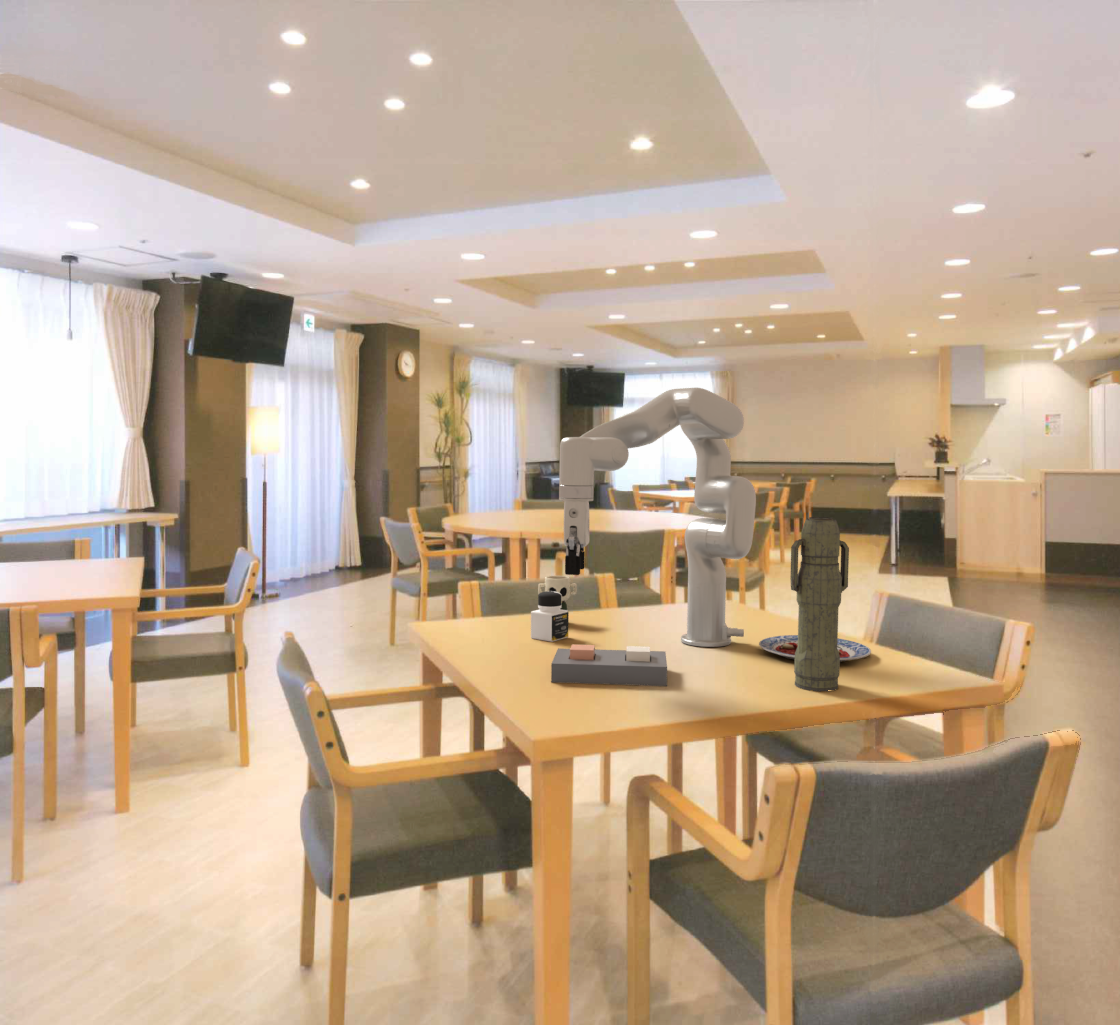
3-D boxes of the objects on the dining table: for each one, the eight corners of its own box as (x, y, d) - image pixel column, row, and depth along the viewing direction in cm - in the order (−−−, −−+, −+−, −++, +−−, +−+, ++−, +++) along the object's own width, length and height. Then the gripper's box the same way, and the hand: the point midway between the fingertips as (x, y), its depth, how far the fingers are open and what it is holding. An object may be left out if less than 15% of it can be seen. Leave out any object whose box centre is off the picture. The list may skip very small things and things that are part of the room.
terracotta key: (594, 658, 189) (594, 645, 189) (593, 664, 184) (593, 650, 184) (571, 657, 189) (571, 644, 189) (569, 663, 184) (570, 649, 184)
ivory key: (649, 660, 188) (649, 646, 188) (649, 665, 183) (650, 651, 183) (626, 659, 188) (626, 645, 188) (626, 665, 183) (626, 651, 183)
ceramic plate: (806, 672, 191) (806, 659, 190) (737, 648, 214) (737, 636, 214) (895, 662, 201) (895, 650, 201) (820, 640, 224) (820, 628, 224)
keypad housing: (665, 669, 192) (665, 651, 192) (666, 685, 178) (667, 666, 178) (557, 665, 194) (557, 648, 194) (551, 682, 180) (551, 663, 180)
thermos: (854, 689, 176) (859, 519, 174) (802, 693, 173) (806, 519, 171) (830, 678, 185) (835, 515, 183) (780, 681, 182) (784, 516, 180)
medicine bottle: (552, 642, 219) (552, 595, 218) (530, 638, 223) (530, 592, 222) (568, 637, 224) (569, 591, 224) (547, 633, 229) (547, 589, 228)
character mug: (538, 625, 240) (538, 579, 239) (537, 620, 247) (537, 575, 246) (577, 625, 240) (577, 579, 239) (575, 620, 247) (575, 575, 246)
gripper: (590, 495, 179) (588, 577, 180) (596, 492, 197) (595, 567, 198) (554, 495, 180) (552, 576, 181) (563, 492, 197) (562, 566, 199)
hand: (574, 571), depth 189 cm, fingers open, 9 cm apart
